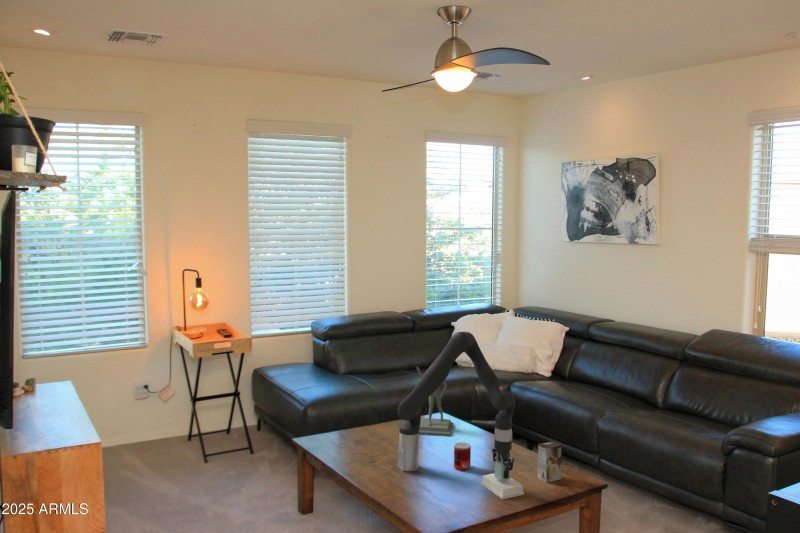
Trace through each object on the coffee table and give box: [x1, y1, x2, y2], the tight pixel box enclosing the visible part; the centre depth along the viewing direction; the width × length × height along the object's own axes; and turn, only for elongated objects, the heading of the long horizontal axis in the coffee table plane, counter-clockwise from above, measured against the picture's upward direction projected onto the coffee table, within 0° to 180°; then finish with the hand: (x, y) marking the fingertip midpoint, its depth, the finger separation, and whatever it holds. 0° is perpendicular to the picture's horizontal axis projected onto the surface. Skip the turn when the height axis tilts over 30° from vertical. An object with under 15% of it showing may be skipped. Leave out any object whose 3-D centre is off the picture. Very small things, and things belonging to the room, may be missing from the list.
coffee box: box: [537, 440, 563, 483], centre depth 299 cm, size 9×6×16 cm
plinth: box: [480, 472, 525, 500], centre depth 288 cm, size 11×17×4 cm, turn 24°
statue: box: [415, 366, 455, 437], centre depth 365 cm, size 20×19×36 cm
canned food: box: [453, 441, 472, 472], centre depth 312 cm, size 8×8×11 cm
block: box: [494, 461, 512, 481], centre depth 288 cm, size 5×5×7 cm
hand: (502, 475), depth 288 cm, fingers closed on block, 5 cm apart
